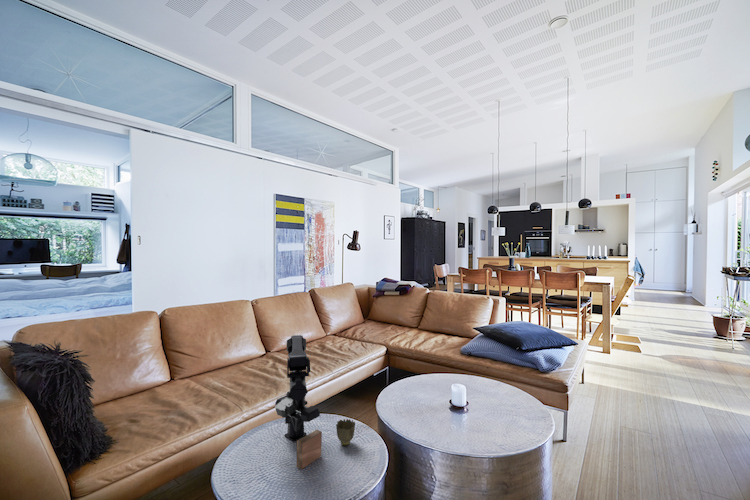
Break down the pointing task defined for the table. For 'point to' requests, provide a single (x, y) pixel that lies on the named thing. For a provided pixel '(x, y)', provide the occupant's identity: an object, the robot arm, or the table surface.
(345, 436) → the cup
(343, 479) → the table surface
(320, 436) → the wooden block
